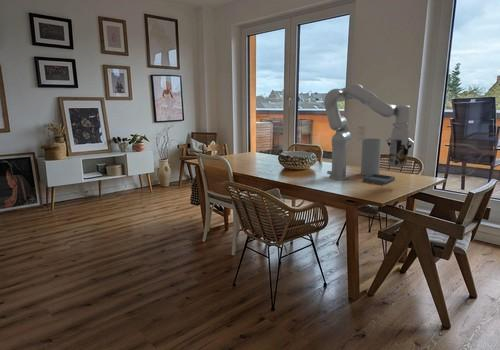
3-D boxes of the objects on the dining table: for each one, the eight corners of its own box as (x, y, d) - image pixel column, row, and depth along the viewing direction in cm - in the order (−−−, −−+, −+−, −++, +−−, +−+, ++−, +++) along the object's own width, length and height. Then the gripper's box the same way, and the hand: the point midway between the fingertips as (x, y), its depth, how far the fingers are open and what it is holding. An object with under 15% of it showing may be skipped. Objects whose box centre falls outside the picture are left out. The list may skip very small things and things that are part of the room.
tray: (362, 181, 228) (362, 177, 227) (373, 177, 239) (373, 173, 238) (384, 184, 218) (384, 181, 217) (394, 180, 229) (394, 176, 228)
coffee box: (395, 166, 211) (398, 140, 207) (387, 164, 217) (390, 139, 213) (406, 165, 214) (409, 139, 211) (398, 163, 220) (401, 138, 216)
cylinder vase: (359, 175, 244) (360, 140, 239) (362, 172, 255) (364, 138, 250) (377, 177, 239) (380, 141, 233) (380, 173, 249) (382, 138, 244)
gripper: (384, 125, 213) (382, 153, 217) (414, 127, 201) (410, 156, 206) (389, 124, 218) (387, 151, 223) (418, 126, 207) (415, 155, 211)
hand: (398, 154), depth 214 cm, fingers closed on coffee box, 8 cm apart
